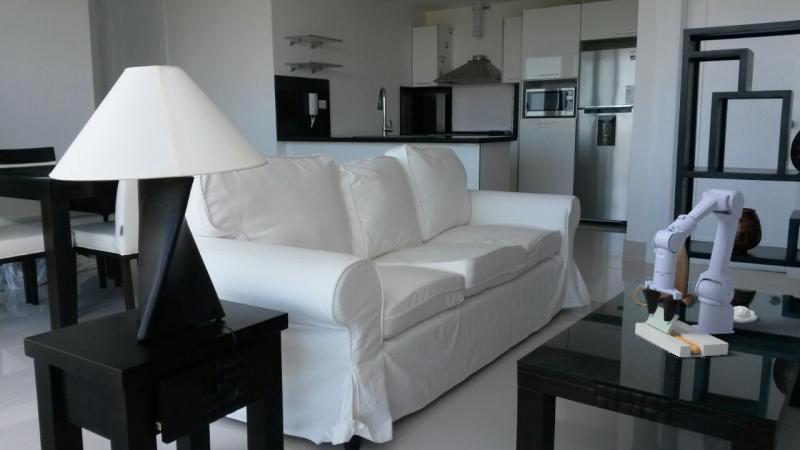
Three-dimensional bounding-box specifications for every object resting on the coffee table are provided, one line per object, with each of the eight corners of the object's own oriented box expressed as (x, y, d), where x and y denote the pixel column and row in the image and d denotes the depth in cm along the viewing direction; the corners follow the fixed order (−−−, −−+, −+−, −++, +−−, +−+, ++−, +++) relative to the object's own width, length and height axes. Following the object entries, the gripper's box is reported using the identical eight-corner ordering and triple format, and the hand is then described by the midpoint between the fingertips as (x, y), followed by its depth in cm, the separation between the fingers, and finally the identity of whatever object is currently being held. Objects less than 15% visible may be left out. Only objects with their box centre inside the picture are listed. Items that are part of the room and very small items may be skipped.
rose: (762, 307, 211) (752, 312, 204) (761, 320, 212) (751, 325, 205) (730, 300, 218) (719, 305, 211) (729, 313, 219) (718, 318, 212)
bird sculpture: (694, 300, 233) (702, 214, 228) (689, 308, 223) (698, 217, 218) (661, 296, 239) (669, 211, 234) (655, 303, 229) (663, 214, 224)
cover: (657, 306, 192) (655, 304, 192) (679, 315, 182) (676, 314, 182) (648, 323, 192) (645, 322, 192) (669, 334, 183) (666, 333, 182)
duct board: (678, 331, 197) (679, 320, 196) (727, 355, 177) (728, 343, 176) (634, 334, 194) (635, 323, 193) (679, 358, 173) (680, 346, 173)
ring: (631, 305, 225) (633, 283, 224) (633, 303, 228) (635, 281, 227) (652, 308, 221) (654, 286, 220) (654, 306, 224) (656, 284, 223)
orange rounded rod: (666, 332, 186) (666, 341, 186) (694, 346, 174) (693, 355, 175) (674, 332, 186) (673, 340, 187) (702, 346, 175) (701, 354, 175)
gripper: (637, 266, 191) (633, 310, 193) (668, 277, 177) (662, 325, 179) (658, 266, 193) (654, 309, 195) (690, 277, 179) (684, 324, 181)
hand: (659, 317), depth 187 cm, fingers open, 7 cm apart
